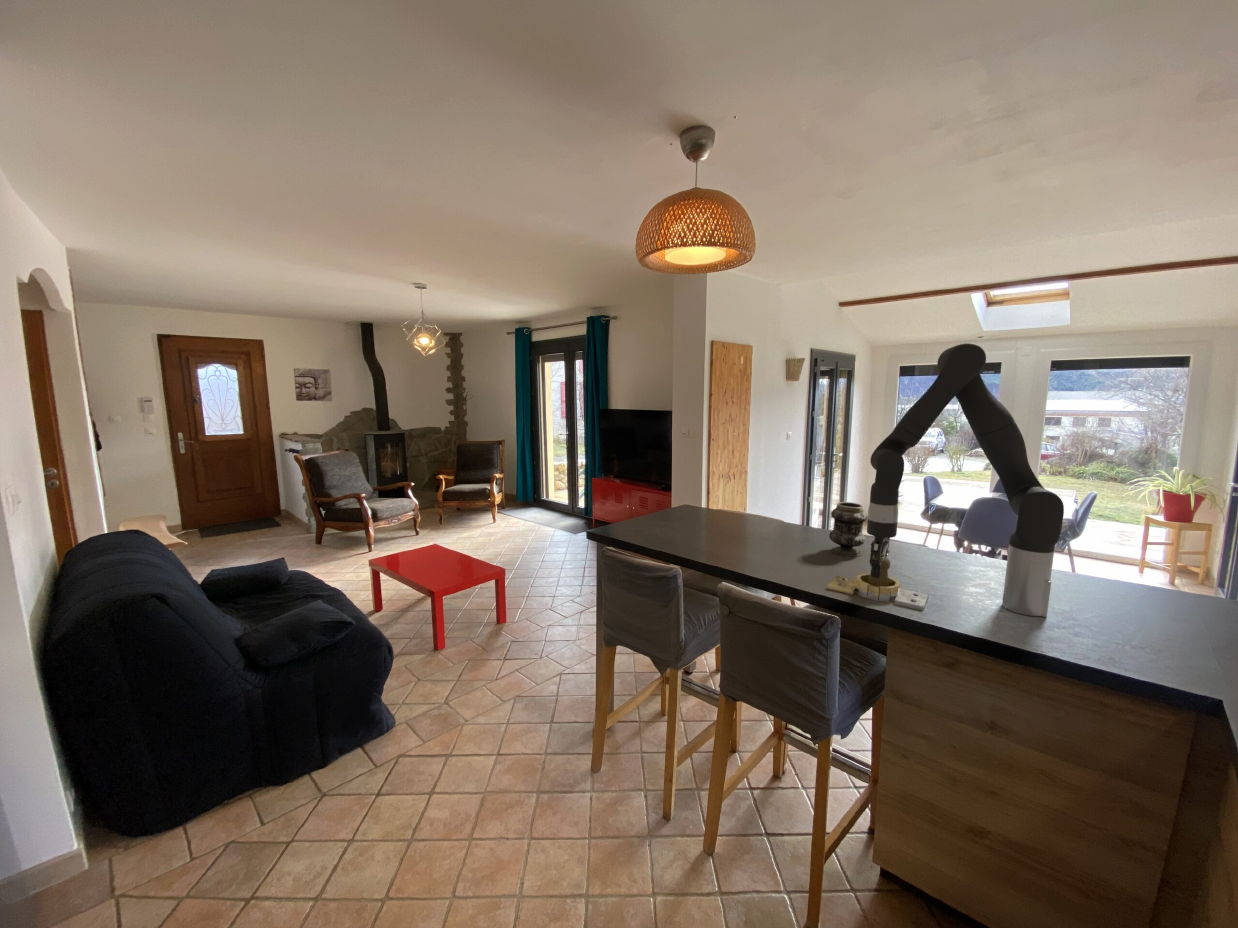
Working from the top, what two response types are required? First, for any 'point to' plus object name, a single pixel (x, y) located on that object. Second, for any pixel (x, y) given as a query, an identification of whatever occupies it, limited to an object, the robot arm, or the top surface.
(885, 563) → the cork
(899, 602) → the steel hinge leaf
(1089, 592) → the top surface
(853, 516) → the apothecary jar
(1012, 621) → the top surface
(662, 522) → the top surface
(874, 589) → the brass hinge leaf
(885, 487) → the robot arm
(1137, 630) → the top surface
